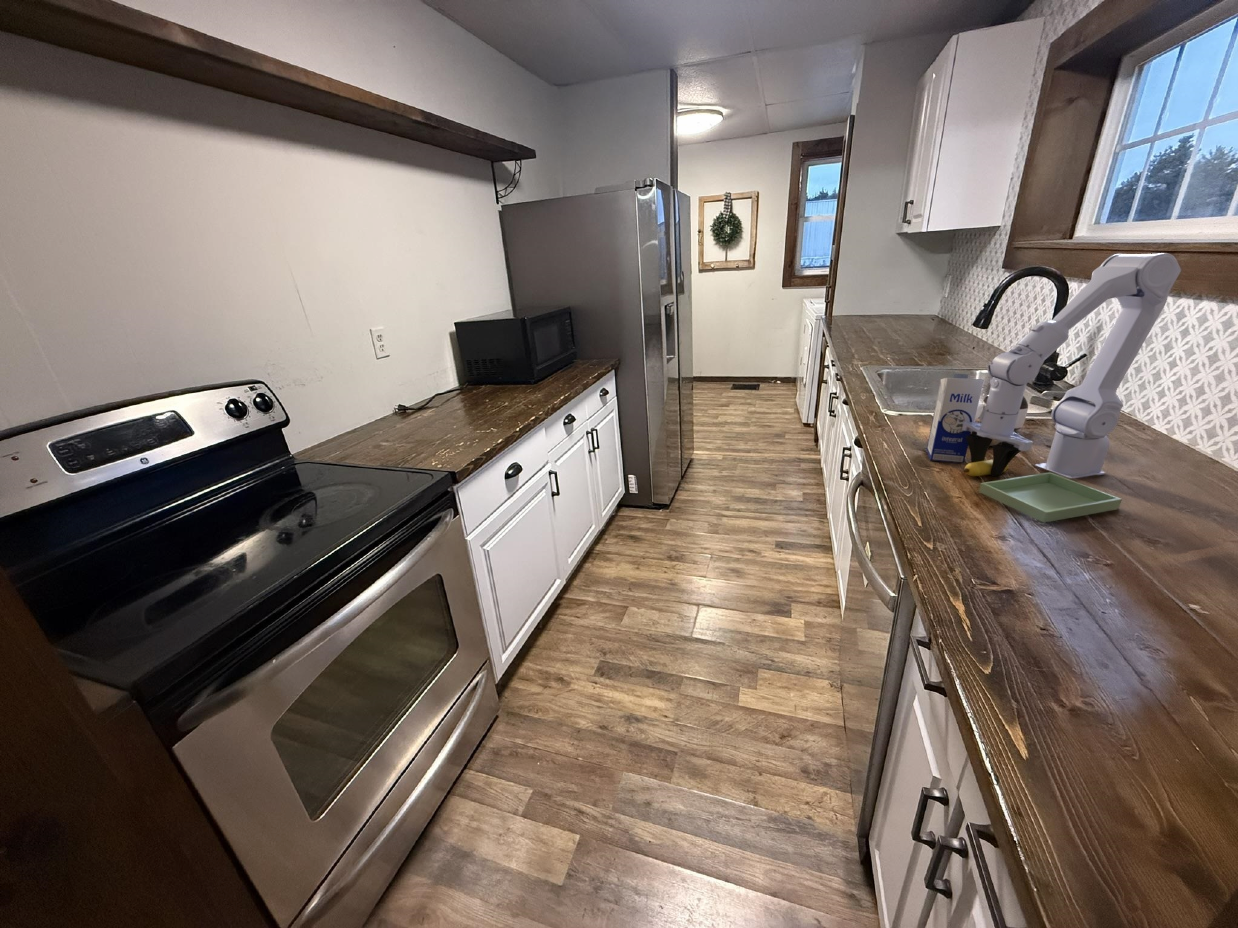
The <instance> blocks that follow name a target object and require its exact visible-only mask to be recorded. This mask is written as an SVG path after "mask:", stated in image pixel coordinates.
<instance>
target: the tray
mask: <svg viewBox="0 0 1238 928" xmlns="http://www.w3.org/2000/svg"><path fill="white" fill-rule="evenodd" d="M978 493H980V494H982V495H984V496H986V497H988V498H991V499H993V500H995V501H996V502H999V503H1001V504H1003V505H1005V506H1007V507H1010V508H1012V509H1013V510H1016V511H1018V512H1020V513H1023V514H1024V515H1027V516H1029V517H1030V518H1032V519H1035V520H1036V521H1037V520H1038V521H1039V522H1040V523H1044V524H1045V523H1049V522H1055V521H1060V520H1066V519H1071V518H1077V517H1082V516H1088V515H1093V514H1099V513H1104V512H1110V511H1115V510H1119V509H1120V507H1121V504H1122V501H1123V498H1120V497H1118V496H1116V495H1112V494H1109V493H1107V492H1105V491H1102V490H1099V489H1096V488H1095V487H1091V486H1088V485H1086V484H1083V483H1081V482H1078V481H1075V480H1072V479H1071V478H1068V477H1065V476H1063V475H1060V474H1057V473H1054V472H1052V471H1049V472H1041V473H1035V474H1030V475H1023V476H1017V477H1010V478H1005V479H997V480H992V481H986V482H985V481H984V482H980V486H979V489H978Z"/></svg>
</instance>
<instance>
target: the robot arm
mask: <svg viewBox="0 0 1238 928" xmlns="http://www.w3.org/2000/svg"><path fill="white" fill-rule="evenodd" d="M1181 272H1182V269H1181V267H1180V264H1179V262H1178V260H1177V258H1176V257H1175V255H1173V254H1171V253H1167V252H1161V253H1160V252H1159V253H1152V254H1151V253H1141V254H1137V253H1135V254H1130V253H1129V254H1127V253H1116V254H1113V255H1111V256H1108V257H1107V258H1106V259H1105V260H1104V261H1103V262H1102V263H1101V264H1100V266H1098V267H1097V268H1095V269H1094V270H1093V271H1092V274H1091V277H1090V278H1091V279H1090V280H1089V282H1088V283H1086V285H1085V286H1084V287H1083V288H1082V289H1081V290H1080V291H1079V292H1078V293H1077V294H1076V295H1075V296H1073V298H1072V299H1071V300H1070V301H1069V302H1068V303H1067V304H1066V305H1065V306H1064V307H1063V308H1062V309H1061V310H1060V311H1059V312H1058V313H1057V314H1056V315H1055V316H1054V317H1053V318H1052V319H1051V320H1043V321H1041V322H1039V323H1038V324H1034V325H1033V326H1032V327H1031V328H1030V331H1029V332H1028V333H1027V334H1026V335H1025V336H1024V337H1022V338H1021V339H1020V340H1019V341H1018V342H1017V343H1016V344H1013V346H1011V348H1010V349H1009V350H1008V351H1004V352H1001V353H999V354H998V355H996V356H995V357H994V358H993V359H992V361H991V362H990V364H988V365H987V373H988V376H989V378H990V380H989V385H990V386H989V391H988V394H987V395H988V399H987V403H986V407H985V411H984V415H983V419H982V423H980V422H977V421H976V422H974V423H972V422H963V427H962V430H964V431H970V432H972V434H971V435H967V436H966V441H967V443H968V449H969V453H970V463H972V462H979V461H985V459H986V456H987V452H988V450H989V447H990V446H989V445H990V444H991V442H992V440H996V441H999V442H1000V443H998V444H996V445H993V446H992V452H993V453H992V455H993V458H992V460H993V464H992V468H991V474H990V475H991V476H993V477H997V476H1001V475H1002V474H1003V473H1004V472H1003V471H1004V469H1005V468H1006V466H1007V465H1008V466H1009V463H1011V461H1012V460H1013V459H1014V458H1015V457H1016V456H1017V455H1018V454H1019V453H1021V452H1027V451H1032V447H1033V444H1034V440H1030V439H1028V438H1026V437H1024V436H1022V435H1020V434H1018V433H1016V431H1015V432H1014V428H1015V424H1016V421H1017V417H1018V413H1019V410H1020V406H1021V402H1022V399H1023V395H1024V396H1025V393H1026V387H1027V384H1028V383H1030V382H1031V381H1033V380H1034V379H1036V377H1037V376H1038V374H1039V372H1040V370H1041V369H1040V368H1041V367H1042V366H1043V365H1044V362H1045V360H1046V359H1048V358H1050V356H1051V355H1052V354H1054V352H1055V351H1057V350H1058V349H1059V348H1060V347H1061V346H1063V344H1065V343H1066V342H1067V341H1068V340H1069V332H1070V330H1071V329H1073V328H1074V327H1075V326H1076V325H1077V324H1079V323H1080V322H1081V321H1082V320H1084V319H1085V318H1087V317H1088V316H1089V315H1090V314H1092V312H1094V311H1095V310H1097V309H1098V308H1099V307H1100V306H1101V305H1103V304H1104V303H1105V302H1107V301H1108V300H1110V299H1114V298H1115V299H1117V301H1118V303H1119V304H1120V307H1121V310H1120V311H1119V314H1118V316H1117V318H1116V319H1115V321H1114V323H1113V325H1112V327H1111V329H1110V331H1109V332H1108V334H1107V336H1106V338H1105V340H1104V342H1103V344H1102V346H1101V347H1100V349H1099V351H1098V353H1097V355H1096V356H1095V359H1094V361H1093V362H1092V363H1091V366H1090V368H1089V370H1088V371H1087V373H1086V375H1085V377H1084V379H1083V381H1082V382H1081V384H1080V385H1078V386H1075V387H1073V388H1070V389H1068V390H1067V391H1066V392H1065V394H1064V396H1063V397H1062V399H1060V400H1059V401H1057V403H1056V404H1055V405H1054V407H1052V410H1051V413H1050V417H1051V420H1052V422H1053V423H1054V429H1055V433H1054V436H1053V439H1052V443H1051V446H1050V449H1049V453H1048V456H1047V459H1046V462H1042V463H1036V464H1035V467H1039V468H1041V469H1044V470H1047V471H1049V472H1051V473H1054V474H1057V475H1059V476H1062V477H1065V478H1067V479H1078V478H1084V477H1090V476H1103V475H1106V472H1105V471H1103V470H1102V469H1103V466H1104V463H1105V461H1106V458H1107V455H1108V452H1109V449H1110V446H1111V444H1110V443H1111V442H1110V439H1109V437H1108V436H1107V435H1109V434H1110V433H1112V432H1113V431H1114V430H1115V429H1116V428H1117V425H1118V424H1119V419H1120V412H1121V410H1122V409H1123V407H1124V404H1123V402H1122V400H1121V399H1120V398H1119V396H1118V393H1117V390H1118V389H1119V387H1120V385H1121V383H1122V381H1123V380H1124V378H1125V376H1126V375H1127V373H1128V371H1129V369H1130V367H1131V366H1132V364H1133V362H1134V360H1135V359H1136V357H1137V355H1138V353H1140V352H1139V351H1140V350H1141V348H1142V346H1143V345H1144V343H1145V341H1146V339H1147V338H1148V336H1149V334H1150V333H1151V331H1152V329H1153V327H1154V325H1155V323H1156V322H1157V320H1158V318H1159V317H1160V315H1161V313H1162V311H1163V310H1164V308H1165V306H1166V305H1167V301H1168V298H1169V293H1170V291H1171V289H1172V288H1173V286H1174V284H1175V283H1176V280H1177V279H1178V277H1179V275H1180V274H1181ZM1024 392H1025V393H1024Z"/></svg>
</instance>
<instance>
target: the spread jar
mask: <svg viewBox="0 0 1238 928" xmlns="http://www.w3.org/2000/svg"><path fill="white" fill-rule="evenodd" d="M1025 393H1026V391H1025V392H1024V395H1023V399H1022V402H1021V406H1020V410H1019V413H1018V417H1017V421H1016V424H1015V428H1014V432H1015V433H1016V432H1018V431H1019V430H1021V429H1022V428H1023V426H1024V425H1025V421H1026V419H1027V414H1028V410H1029V403H1028V400H1027V398H1026V397H1025ZM988 395H989V394H987V395H986V396H985V397H984V399H983V400H982V402H980V401H979V403H978V407H977V411H976V415H975V419H974V422H977V420H978V419H979V420H978V421H979V423H982V419H983V415H984V411H985V407H986V403H987V399H988Z"/></svg>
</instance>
